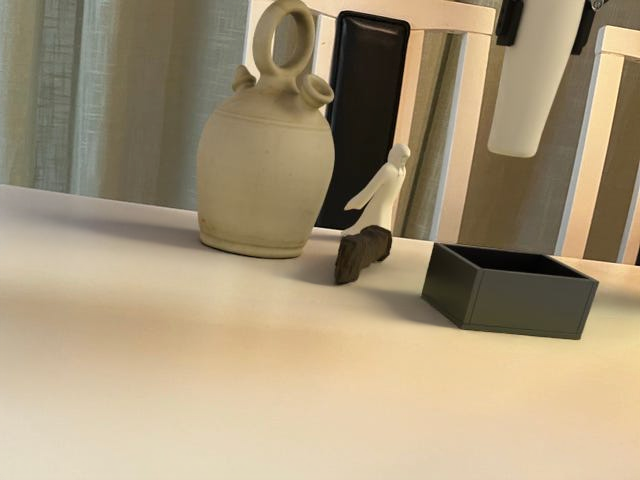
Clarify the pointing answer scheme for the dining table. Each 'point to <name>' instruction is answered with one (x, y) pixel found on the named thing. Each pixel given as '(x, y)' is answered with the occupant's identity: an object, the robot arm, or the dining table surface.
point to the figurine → (380, 192)
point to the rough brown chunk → (361, 252)
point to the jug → (267, 150)
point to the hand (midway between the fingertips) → (538, 48)
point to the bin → (508, 291)
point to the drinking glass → (533, 74)
